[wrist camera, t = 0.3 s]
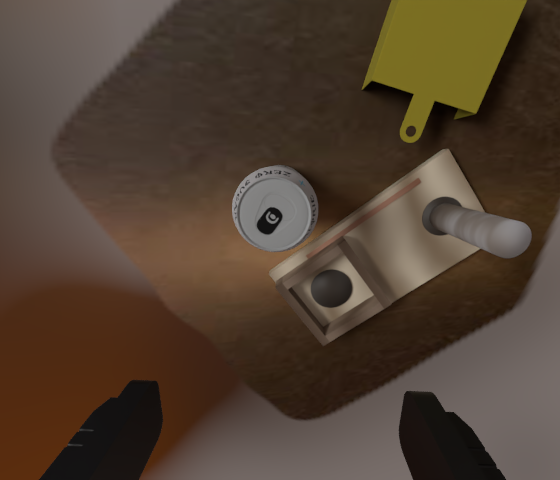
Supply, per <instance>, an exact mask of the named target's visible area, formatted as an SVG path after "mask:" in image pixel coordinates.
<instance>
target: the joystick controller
mask: <svg viewBox="0 0 560 480" xmlns="http://www.w3.org/2000/svg"><path fill="white" fill-rule="evenodd" d="M531 237H532V235H531V230H530V228H529V227H528V226H527V225H526V224H525V223H523V222H520V221H516V220H512V219H508V218H504V217H500V216H496V215H492V214H488V213H485V211H484V209H483V208H482V206H481V204H480V203H479V201H478V199H477V197H476V196H475V194H474V192H473V190H472V189H471V187H470V185H469V183H468V182H467V180H466V178H465V176H464V175H463V173H462V171H461V170H460V168H459V166H458V164H457V163H456V161H455V159H454V157H453V156H452V154H451V152H450V150H449V149H442V150H441V151H440V152H438V153H437V154H435V155H434V156H432V157H431V158H430V159H428V160H427V161H425V162H424V163H422V164H421V165H420V166H418V167H417V168H415V169H414V170H412V171H411V172H410V173H408V174H407V175H405V176H404V177H402V178H401V179H400V180H398V181H397V182H395V183H394V184H393V185H391V186H390V187H388V188H387V189H385V190H384V191H383V192H381V193H380V194H378V195H377V196H375V197H374V198H373V199H371V200H370V201H368V202H367V203H365V204H364V205H363V206H361V207H360V208H358V209H357V210H355V211H354V212H353V213H351V214H350V215H348V216H347V217H345V218H344V219H343V220H341V221H340V222H338V223H337V224H336V225H334V226H333V227H331V228H330V229H328V230H327V231H326V232H324V233H323V234H321V235H320V236H318V237H317V238H316V239H314V240H313V241H311V242H310V243H308V244H307V245H306V246H304V247H303V248H301V249H300V250H298V251H297V252H296V253H294V254H293V255H291V256H290V257H288V258H287V259H286V260H284V261H283V262H281V263H280V264H278V265H277V266H276V267H274V268H273V269H271V270H270V271H269V275H270V276H271V278H272V279H273V280H274V281H275V283H276V289H277V290H278V292H279V293H280V294H281V295H282V297H283V298H284V299H285V300H286V301H287V303H288V304H289V305H290V306H291V308H292V309H293V310H294V311H295V312H296V314H297V315H298V316H299V317H300V319H301V320H302V321H303V322H304V323H305V325H306V326H307V327H308V328H309V329H310V331H311V332H312V333H313V334H314V336H315V337H316V338H317V339H318V340H319V342H320V343H321V344H322V345H323V346H324V345H326V344H327V343H329V342H331V341H332V340H334V339H336V338H337V337H339V336H341V335H342V334H344V333H346V332H347V331H349V330H350V329H352V328H354V327H355V326H357V325H359V324H360V323H362V322H364V321H365V320H367V319H368V318H370V317H372V316H373V315H375V314H377V313H378V312H380V311H382V310H383V309H385V308H386V307H388V306H390V305H391V303H392V302H394V301H396V300H397V299H399V298H401V297H402V296H404V295H405V294H407V293H409V292H410V291H412V290H414V289H415V288H417V287H419V286H420V285H422V284H423V283H425V282H427V281H428V280H430V279H432V278H433V277H435V276H437V275H438V274H440V273H441V272H443V271H445V270H446V269H448V268H450V267H451V266H453V265H455V264H456V263H458V262H459V261H461V260H463V259H464V258H466V257H468V256H469V255H471V254H473V253H474V252H476V251H477V250H479V249H483V250H485V251H488V252H490V253H492V254H494V255H497V256H499V257H502V258H513V257H516V256H518V255H520V254H521V253H523V252H524V251H525V250H526V249H527V248H528V246H529V244H530V242H531Z"/></svg>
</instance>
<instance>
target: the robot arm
mask: <svg viewBox="0 0 560 480" xmlns="http://www.w3.org/2000/svg"><path fill="white" fill-rule="evenodd" d="M162 422H163V415H162V408H161V400H160V394H159V386H158V383H157V381H148V380H145V381H144V380H132V381H130V382H129V383H128V384H127V386H126V387H125V388H124V390H123V391H122V393H121V394H120V395H119V396H118V398H110V399H109V400H107V401H106V402H105V403H103V404H102V405H101V406H100V407H98V408H97V409H96V410H95V411H94V412H93V413H92V414H91V415H90V416H89V418H88V419H87V420H86V421H85V423H84V424H83V425H82V426H81V428H80V430H79V432H77V433H76V434H75V435H74V436H73V438H72V439H71V440H70V442H69V443H68V446H67V447H65V448H64V449H63V450H62V452H61V453H60V454H59V455H58V457H57V458H56V459H55V460H54V462H53V463H52V464H51V465H50V467H49V468H48V469H47V470H46V472H45V473H44V474H43V475H42V477H41V478H40V479H39V480H139V478H140V476H141V474H142V472H143V470H144V468H145V466H146V463H147V461H148V459H149V457H150V455H151V453H152V451H153V449H154V447H155V445H156V443H157V441H158V438H159V435H160V433H161V428H162ZM399 438H400V444H401V448H402V451H403V454H404V457H405V459H406V462H407V465H408V467H409V470H410V472H411V475H412V478H413V480H506V479H505V477H504V476H503V474H502V473H501V471H500V470H499V469H497V467H496V464H495V462H494V461H493V460H492V458H491V456H490V455H489V453H488V452H486V451H485V447H484V446H483V445H482V443H481V442H480V440H479V439H478V437H477V436H476V434H475V433H474V431H473V430H472V428H471V427H469V426H468V425H467V424H466V423H465V422H464V421H463V420H462V419H461V418H460V417H458V416H457V415H456V414H455V413H454V412H445V410H444V409H443V407H442V405H441V404H440V402H439V401H438V399H437V397H436V396H435V395H434V394H433V393H432V392H415V391H407V392H406V393H405V394H404V400H403V406H402V412H401V419H400V425H399Z"/></svg>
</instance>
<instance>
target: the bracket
mask: <svg viewBox="0 0 560 480" xmlns="http://www.w3.org/2000/svg"><path fill="white" fill-rule="evenodd" d="M526 1H527V0H391V3H390V6H389V9H388V12H387V15H386V18H385V21H384V24H383V27H382V30H381V33H380V36H379V39H378V42H377V45H376V48H375V51H374V54H373V57H372V60H371V63H370V66H369V69H368V72H367V75H366V78H365V81H364V84H363V87H362V90H363V89H364V88H365V87H366V86H367V85H368V84H369V83H370V82H371V81H375V82H378V83H381V84H384V85H387V86H390V87H394V88H397V89H400V90H403V91H406V92H409V93H412V94H414V95H413V97H412V100H411V103H410V105H409V108H408V111H407V113H406V116H405V118H404V121H403V124H402V126H401V129H400V136H401V139H402V140H403V141H405V142H407V143H412V142H415V141H416V140H418V139H419V137H420V136H421V134H422V131H423V129H424V126H425V124H426V121H427V119H428V116H429V114H430V111H431V109H432V106H433V104H434V101H437V102H440V103H443V104H447V105H450V106H453V107H456V108H458V111H457V113H456V115H455V118H454V120H455V119H459V118H462V117H466V116H470V115H474V114H476V113H477V111H478V109H479V106H480V104H481V102H482V100H483V97H484V95H485V93H486V91H487V88H488V86H489V84H490V82H491V80H492V77H493V75H494V73H495V71H496V68H497V66H498V64H499V62H500V59H501V57H502V55H503V53H504V50H505V48H506V46H507V44H508V42H509V39H510V37H511V35H512V33H513V30H514V28H515V26H516V24H517V21H518V19H519V17H520V15H521V12H522V10H523V8H524V6H525V4H526ZM409 126H414V127H415V128H416V134H415V135H414V136H413V137H408V136H407V135H406V129H407V127H409Z"/></svg>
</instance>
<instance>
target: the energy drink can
mask: <svg viewBox="0 0 560 480" xmlns="http://www.w3.org/2000/svg"><path fill="white" fill-rule="evenodd" d="M232 213H233V219H234V222H235V225H236V227H237V229H238V231H239V233H240V234H241V235H242V236H243V238H244V239H245V240H246V241H248V242H249V243H250V244H251V245H253V246H255V247H257V248H259V249H262V250H265V251H270V252H282V251H286V250H290V249H292V248H295V247H297V246H298V245H300V244H301V243H303V242H304V241H305V240H306V239H307V238H308V237H309V236H310V234H311V233H312V231H313V229H314V227H315V225H316V222H317V218H318V201H317V197H316V194H315V192H314V190H313V188H312V186H311V185H310V184H309V182H308V181H307V180H306V179H305V178H304V177H303V176H302V175H301V174H300V173H298V172H297V171H296V170H295V169H293V168H291V167H288V166H284V165H276V166H270V167H265V168H262V169H259V170H257V171H255V172H253V173H251V174H250V175H249V176H247V177H246V178H245V179H244V180H243V181H242V182H241V184H240V185H239V187H238V188H237V190H236V192H235V195H234V199H233V205H232Z"/></svg>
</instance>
